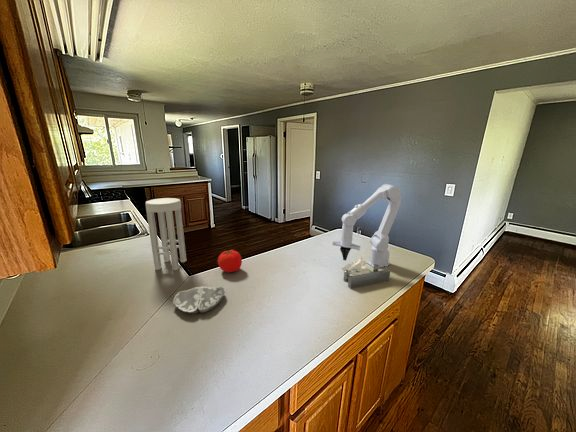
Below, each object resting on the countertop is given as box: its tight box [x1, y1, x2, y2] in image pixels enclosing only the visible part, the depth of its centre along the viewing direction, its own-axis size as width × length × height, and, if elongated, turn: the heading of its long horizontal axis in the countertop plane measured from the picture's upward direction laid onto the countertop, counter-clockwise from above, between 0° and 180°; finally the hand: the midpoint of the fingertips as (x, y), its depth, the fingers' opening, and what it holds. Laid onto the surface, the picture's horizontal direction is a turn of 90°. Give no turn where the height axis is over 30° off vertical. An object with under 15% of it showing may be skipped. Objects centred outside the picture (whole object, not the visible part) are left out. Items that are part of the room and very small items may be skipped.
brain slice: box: [172, 285, 226, 314], centre depth 96 cm, size 20×17×3 cm
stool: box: [145, 197, 187, 271], centre depth 123 cm, size 16×16×35 cm
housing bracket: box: [343, 264, 391, 290], centre depth 115 cm, size 22×8×5 cm, turn 110°
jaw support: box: [341, 257, 371, 276], centre depth 119 cm, size 12×9×10 cm
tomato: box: [217, 248, 243, 273], centre depth 121 cm, size 12×12×11 cm
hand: (344, 259), depth 130 cm, fingers closed
